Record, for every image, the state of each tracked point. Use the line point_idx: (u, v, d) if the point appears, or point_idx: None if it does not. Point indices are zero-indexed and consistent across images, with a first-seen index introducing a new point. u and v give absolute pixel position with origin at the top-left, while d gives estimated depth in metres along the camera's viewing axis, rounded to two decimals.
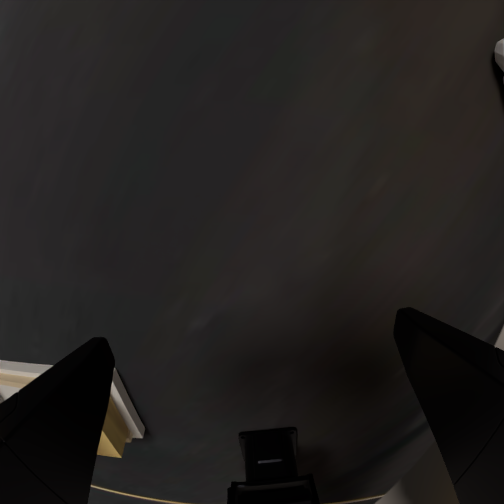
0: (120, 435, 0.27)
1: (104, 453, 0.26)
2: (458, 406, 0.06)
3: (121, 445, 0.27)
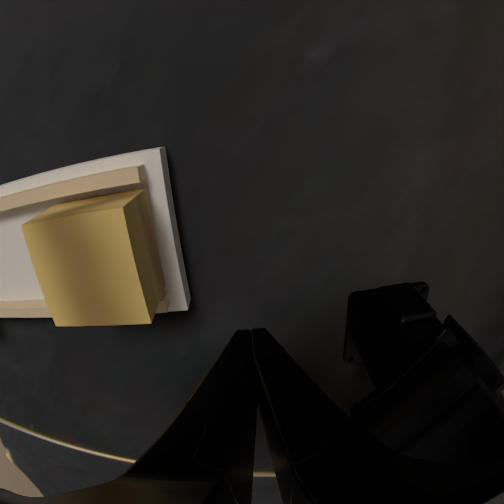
0: (153, 280, 0.17)
1: (116, 317, 0.15)
2: (274, 449, 0.06)
3: (153, 298, 0.16)
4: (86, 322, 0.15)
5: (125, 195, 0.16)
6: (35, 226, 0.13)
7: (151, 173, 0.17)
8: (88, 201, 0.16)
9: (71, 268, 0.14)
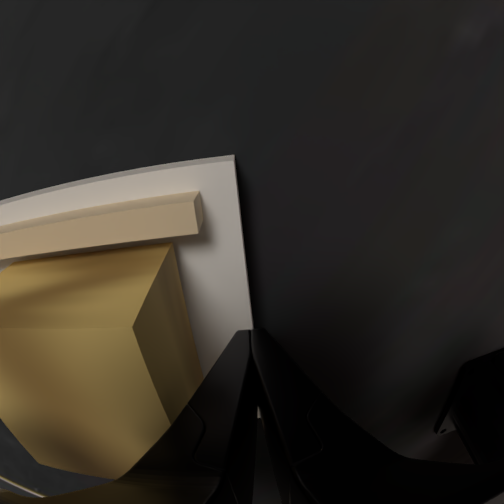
0: None
1: None
2: (273, 449, 0.06)
3: None
4: (85, 471, 0.07)
5: (132, 265, 0.08)
6: None
7: (215, 209, 0.09)
8: (60, 271, 0.08)
9: (42, 410, 0.06)
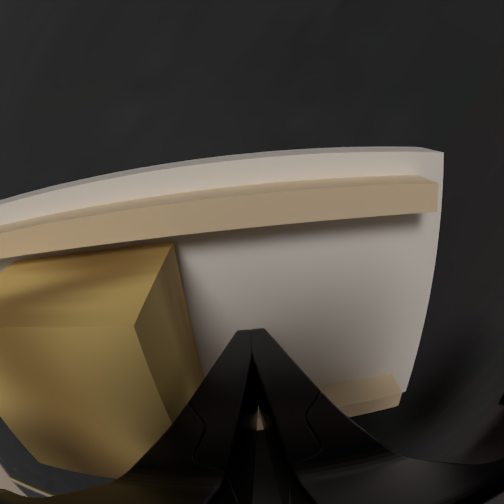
0: None
1: None
2: (273, 450, 0.06)
3: None
4: (86, 470, 0.07)
5: (133, 264, 0.08)
6: None
7: None
8: (61, 270, 0.08)
9: (43, 409, 0.06)
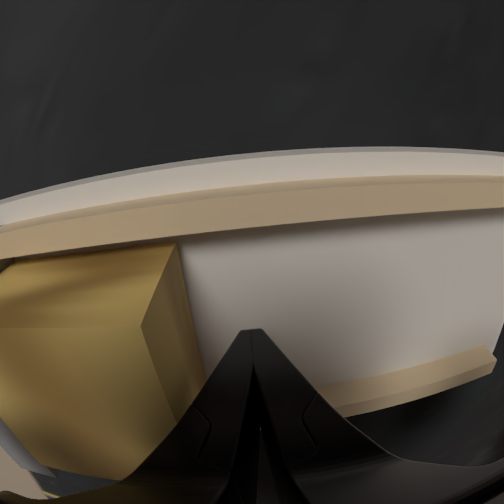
0: None
1: None
2: (269, 450, 0.06)
3: None
4: (88, 472, 0.07)
5: (137, 264, 0.08)
6: None
7: None
8: (63, 270, 0.08)
9: (46, 410, 0.06)
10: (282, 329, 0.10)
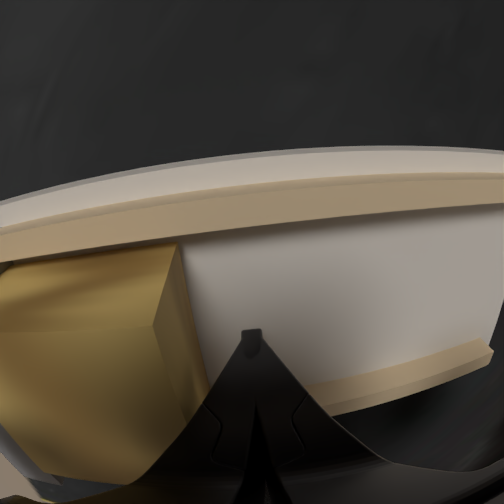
0: None
1: None
2: (260, 451, 0.06)
3: None
4: (93, 478, 0.07)
5: (140, 264, 0.08)
6: None
7: None
8: (64, 273, 0.07)
9: (51, 417, 0.06)
10: (286, 326, 0.11)
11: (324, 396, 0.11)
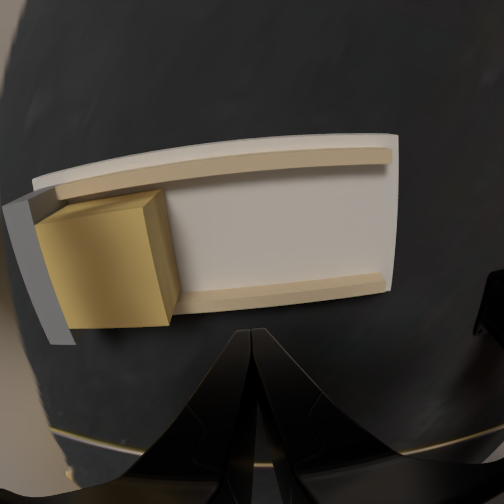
0: (170, 281, 0.17)
1: (133, 319, 0.15)
2: (274, 449, 0.06)
3: (170, 300, 0.16)
4: (100, 324, 0.15)
5: (142, 195, 0.16)
6: (49, 226, 0.13)
7: None
8: (103, 201, 0.16)
9: (87, 269, 0.14)
10: (220, 241, 0.18)
11: (248, 293, 0.19)
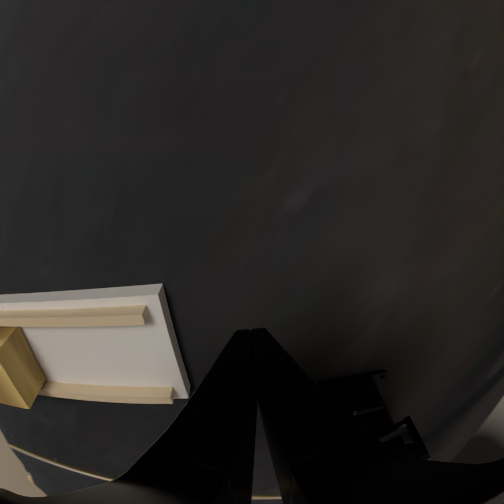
0: (31, 381, 0.21)
1: (13, 402, 0.19)
2: (274, 449, 0.06)
3: (30, 393, 0.20)
4: (0, 401, 0.19)
5: (5, 333, 0.20)
6: None
7: (153, 311, 0.21)
8: None
9: None
10: (58, 357, 0.22)
11: (80, 390, 0.23)
